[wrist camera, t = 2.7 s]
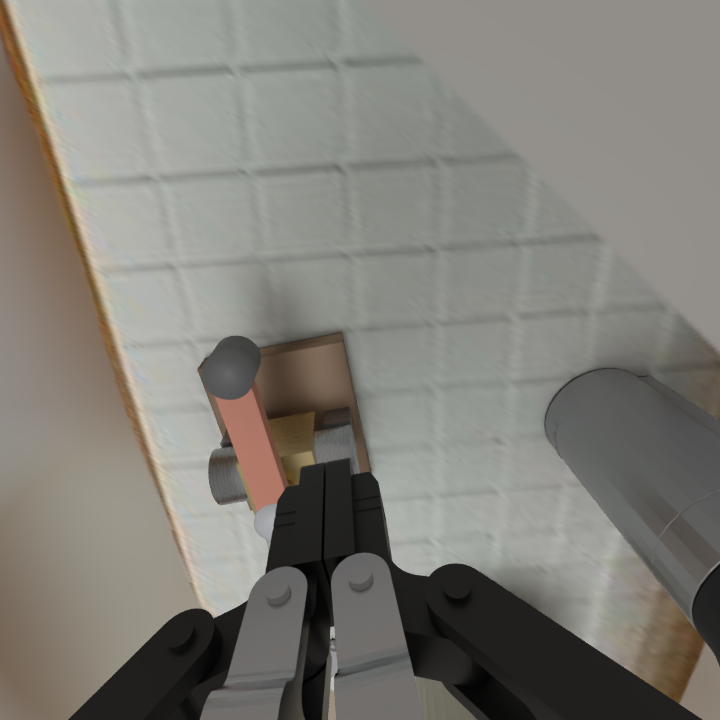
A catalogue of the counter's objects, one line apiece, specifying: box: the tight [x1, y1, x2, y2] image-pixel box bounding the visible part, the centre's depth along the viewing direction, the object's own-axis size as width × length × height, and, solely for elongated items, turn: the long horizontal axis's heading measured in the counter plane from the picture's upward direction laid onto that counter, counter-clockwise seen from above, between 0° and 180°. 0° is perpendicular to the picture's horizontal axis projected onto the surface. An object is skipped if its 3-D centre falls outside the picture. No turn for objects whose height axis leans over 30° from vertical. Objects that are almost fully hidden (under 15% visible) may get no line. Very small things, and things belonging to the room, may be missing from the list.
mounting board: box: [198, 333, 372, 510], centre depth 36 cm, size 11×14×2 cm
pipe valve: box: [208, 407, 360, 515], centre depth 31 cm, size 10×5×8 cm, turn 100°
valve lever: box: [201, 336, 289, 541], centre depth 25 cm, size 3×13×3 cm, turn 10°
